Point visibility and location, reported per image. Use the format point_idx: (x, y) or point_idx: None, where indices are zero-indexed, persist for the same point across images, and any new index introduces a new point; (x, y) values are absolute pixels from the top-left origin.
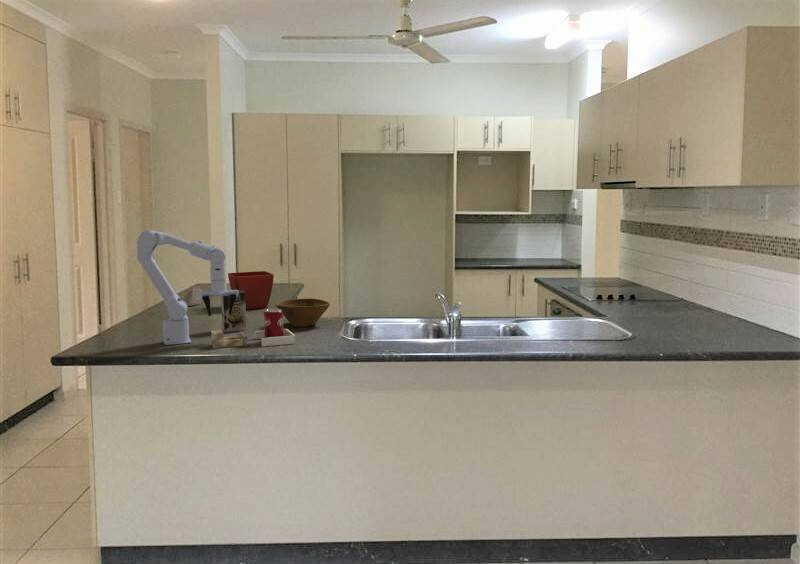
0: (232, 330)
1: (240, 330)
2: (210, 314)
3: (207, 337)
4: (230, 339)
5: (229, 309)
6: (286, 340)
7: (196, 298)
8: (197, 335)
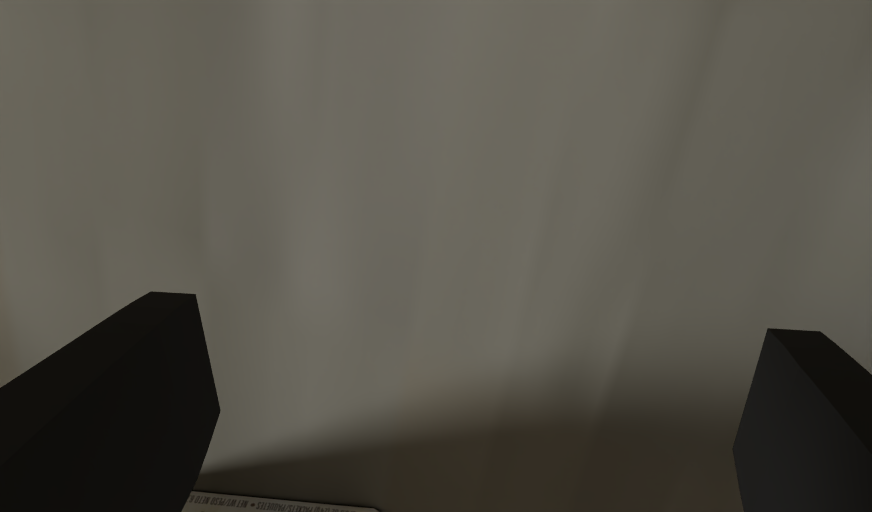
0: (288, 508)
1: (202, 495)
2: (796, 351)
3: (629, 352)
4: None
5: (120, 418)
6: None
7: None
8: (707, 491)
